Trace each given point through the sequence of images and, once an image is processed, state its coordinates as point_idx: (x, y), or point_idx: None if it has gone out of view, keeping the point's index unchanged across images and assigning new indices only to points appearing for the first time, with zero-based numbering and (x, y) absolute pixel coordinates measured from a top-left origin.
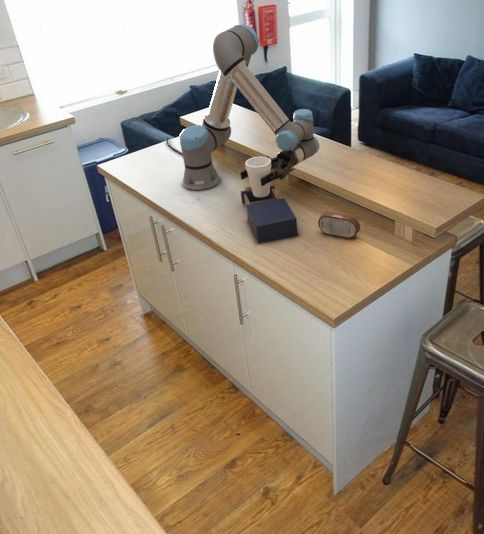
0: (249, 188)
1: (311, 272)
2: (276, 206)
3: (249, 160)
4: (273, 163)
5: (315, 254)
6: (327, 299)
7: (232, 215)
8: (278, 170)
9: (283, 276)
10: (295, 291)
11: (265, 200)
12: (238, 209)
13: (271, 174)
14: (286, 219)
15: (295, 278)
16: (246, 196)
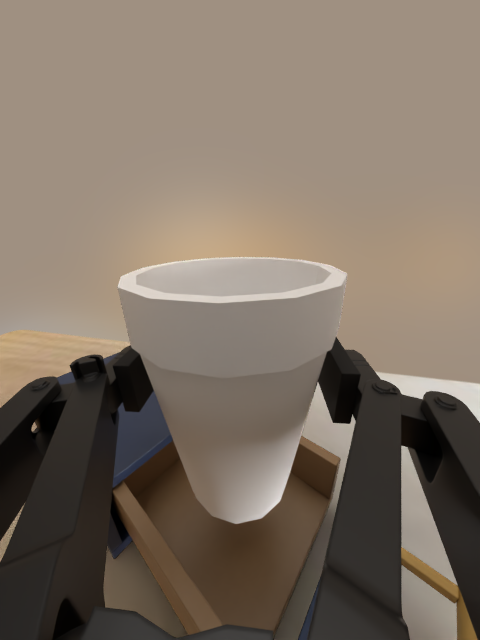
0: (458, 622)
1: (34, 361)
2: (119, 413)
3: (321, 274)
4: (208, 632)
5: (9, 396)
6: (17, 339)
7: (313, 435)
8: (65, 412)
9: (90, 344)
10: (69, 335)
11: (268, 596)
12: (338, 478)
13: (128, 355)
14: (70, 374)
15: (68, 347)
16: (308, 446)
